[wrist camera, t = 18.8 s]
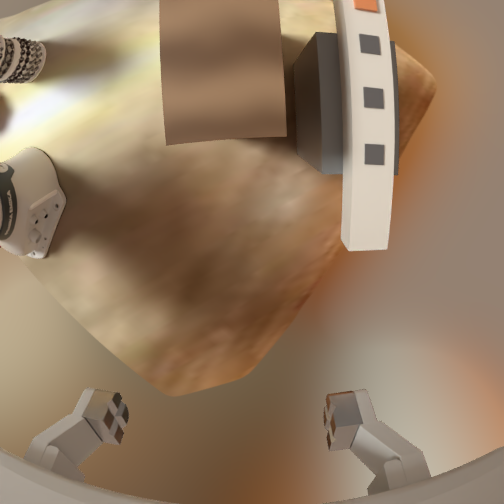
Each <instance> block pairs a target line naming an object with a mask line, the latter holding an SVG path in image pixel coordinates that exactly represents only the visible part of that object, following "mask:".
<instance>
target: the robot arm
mask: <svg viewBox="0 0 504 504" xmlns="http://www.w3.org/2000/svg"><path fill="white" fill-rule="evenodd" d="M57 204H58V205H59V207H58V206H57ZM65 204H66V197H65V195H64V193H63V191H62V190H61V188H60V186H59V183H58V179H57V175H56V171H55V169H54V166H53V164H52V162H51V160H50V159H49V158H48V156H47V155H46V154H45V153H44V152H42V151H41V150H39V149H37V148H32V147H30V148H25V149H23V150H21V151H20V152H19V153H17V154H16V155H15V156H13V157H11V158H10V159H8V160H6V161H4V162H2V163H0V247H3V248H4V249H5V250H7V251H9V252H11V253H13V254H15V255H19V256H24V255H27V256H30V257H32V258H43V257H45V256H46V254H47V251H48V248H49V246H50V243H51V240H52V237H53V234H54V232H55V229H56V226H57V224H58V221H59V219H60V216H61V214H62V211H63V209H64V207H65ZM121 400H122V397H121V395H120V393H118V392H111V391H106V390H100V389H95V388H89V387H87V388H86V389H85V390H84V392H83V393H82V395H81V398H80V399H79V401H78V403H77V405H76V408H75V409H74V411H73V413H72V415H71V414H69V415H67V416H66V417H64V418H63V419H61V420H60V421H58V422H57V423H55V424H54V425H52V426H51V427H49V428H48V429H46V430H45V431H43V432H42V433H41V434H39V435H37V436H36V437H34V438H33V440H32V442H31V444H30V446H29V448H28V450H27V452H26V454H25V456H24V459H22V458H20V457H18V456H16V455H14V454H12V453H10V452H8V451H6V450H4V449H2V448H0V504H176V503H169V502H162V501H156V500H151V499H145V498H140V497H135V496H130V495H126V494H122V493H118V492H114V491H110V490H106V489H102V488H99V487H96V486H93V485H89V484H86V483H83V481H84V478H85V476H84V474H83V473H82V472H81V471H80V470H79V469H78V468H77V467H78V466H79V465H80V464H81V463H82V462H83V461H84V460H85V459H86V458H87V457H89V456H90V455H91V454H92V453H93V452H94V451H95V450H96V449H97V448H98V447H99V446H100V445H101V444H102V443H103V442H105V443H111V444H116V445H120V443H121V440H122V438H123V434H124V432H123V430H122V428H123V427H125V426H126V425H127V422H128V419H129V412H128V408H127V406H126V404H124V403H123V402H122V401H121ZM326 404H327V405H326V406H325V407H324V416H323V417H324V426H325V429H326V430H327V431H328V433H327V443H328V448H329V451H335V450H343V449H350V450H351V451H352V452H353V453H354V454H355V455H356V456H357V457H358V458H359V459H360V460H361V461H362V462H363V463H364V464H365V465H366V466H367V467H368V468H369V469H370V470H371V471H372V472H373V473H374V474H375V475H376V477H375V478H374V480H373V481H372V483H371V484H370V485H369V487H368V488H367V489H368V496H364V497H359V498H354V499H349V500H343V501H337V502H330V503H323V504H504V447H500V448H498V449H495V450H494V451H492V452H490V453H488V454H486V455H484V456H482V457H480V458H477V459H475V460H473V461H471V462H469V463H467V464H464V465H462V466H460V467H457V468H455V469H452V470H450V471H447V472H445V473H442V474H439V475H437V476H434V477H431V475H430V472H429V469H428V466H427V463H426V461H425V458H424V455H423V452H422V451H421V450H420V449H418V448H417V447H415V446H414V445H413V444H411V443H410V442H409V441H407V440H406V439H404V438H403V437H402V436H400V435H399V434H398V433H397V432H395V431H394V430H392V429H391V428H390V427H388V426H387V425H386V424H385V423H383V422H382V421H377V418H376V415H375V412H374V409H373V406H372V403H371V401H370V398H369V395H368V392H367V390H366V389H362V390H356V391H347V392H340V393H333V394H328V395H327V396H326Z"/></svg>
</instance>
